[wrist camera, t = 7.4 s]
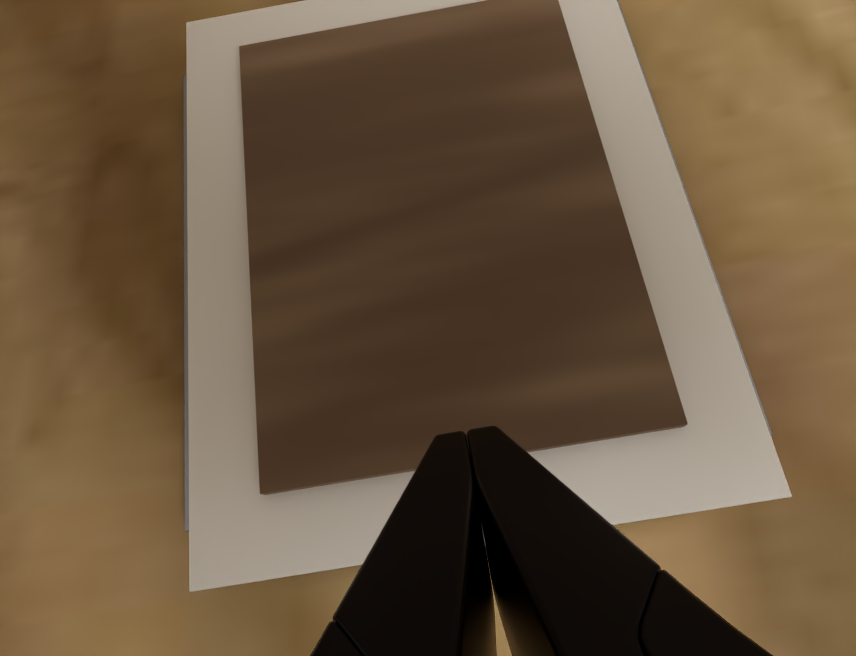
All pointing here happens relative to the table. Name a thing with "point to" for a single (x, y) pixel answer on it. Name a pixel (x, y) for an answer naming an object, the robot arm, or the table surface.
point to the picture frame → (441, 275)
